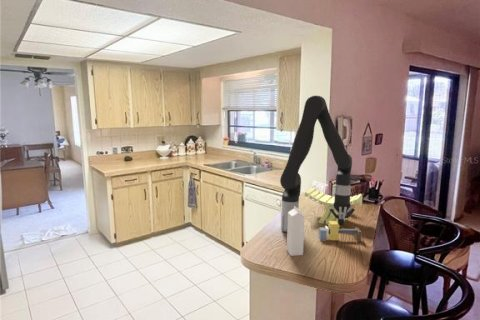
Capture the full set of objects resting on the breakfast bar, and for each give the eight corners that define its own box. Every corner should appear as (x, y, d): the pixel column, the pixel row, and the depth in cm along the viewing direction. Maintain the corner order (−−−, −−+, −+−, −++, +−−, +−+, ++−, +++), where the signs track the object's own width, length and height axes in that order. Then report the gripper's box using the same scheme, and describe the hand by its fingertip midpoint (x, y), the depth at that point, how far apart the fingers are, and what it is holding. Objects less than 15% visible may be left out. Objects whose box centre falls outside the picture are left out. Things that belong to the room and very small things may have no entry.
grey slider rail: (321, 233, 155) (321, 229, 155) (320, 231, 157) (320, 228, 156) (360, 233, 154) (360, 230, 154) (359, 232, 156) (359, 229, 156)
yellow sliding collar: (330, 240, 154) (330, 224, 152) (327, 236, 158) (328, 221, 157) (338, 240, 154) (338, 224, 152) (335, 236, 158) (336, 221, 157)
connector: (320, 240, 154) (320, 230, 153) (318, 237, 158) (319, 227, 157) (326, 240, 154) (326, 230, 153) (324, 237, 158) (324, 227, 157)
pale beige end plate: (326, 236, 154) (326, 228, 153) (324, 233, 158) (324, 225, 157) (328, 236, 154) (328, 228, 153) (326, 233, 158) (326, 225, 157)
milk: (298, 249, 144) (300, 205, 141) (303, 255, 138) (305, 209, 135) (286, 250, 143) (287, 205, 140) (290, 256, 138) (292, 209, 134)
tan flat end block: (357, 242, 153) (358, 231, 152) (353, 237, 159) (354, 227, 158) (360, 242, 153) (361, 231, 152) (356, 237, 158) (357, 227, 158)
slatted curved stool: (360, 221, 182) (362, 192, 180) (355, 229, 169) (357, 199, 166) (312, 212, 198) (313, 186, 195) (304, 219, 185) (305, 191, 182)
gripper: (331, 194, 149) (329, 228, 151) (358, 195, 148) (356, 228, 151) (327, 190, 156) (326, 222, 159) (353, 191, 156) (351, 223, 158)
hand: (340, 225), depth 155 cm, fingers closed
